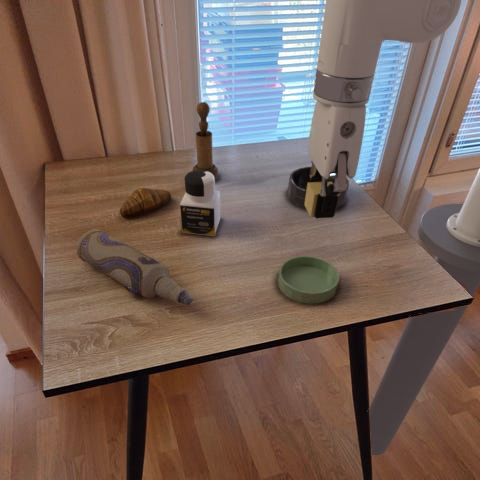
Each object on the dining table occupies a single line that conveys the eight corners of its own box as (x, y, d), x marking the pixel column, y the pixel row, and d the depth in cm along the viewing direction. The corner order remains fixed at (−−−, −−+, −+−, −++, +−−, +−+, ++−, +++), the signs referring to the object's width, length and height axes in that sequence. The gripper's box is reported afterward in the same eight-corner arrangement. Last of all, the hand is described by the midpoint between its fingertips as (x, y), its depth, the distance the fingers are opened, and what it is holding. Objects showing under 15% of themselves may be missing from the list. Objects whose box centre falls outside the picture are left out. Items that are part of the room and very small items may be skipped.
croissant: (161, 193, 101) (159, 173, 98) (178, 204, 98) (177, 184, 95) (113, 212, 95) (108, 192, 91) (129, 224, 91) (126, 204, 88)
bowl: (334, 182, 108) (338, 165, 105) (353, 210, 98) (357, 192, 95) (282, 184, 106) (283, 167, 103) (295, 213, 96) (297, 195, 93)
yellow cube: (327, 203, 70) (331, 181, 67) (334, 216, 67) (339, 193, 64) (304, 204, 70) (307, 182, 67) (310, 217, 67) (314, 194, 64)
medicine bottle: (182, 233, 89) (177, 181, 81) (189, 216, 94) (186, 165, 86) (214, 237, 89) (213, 184, 80) (220, 219, 94) (220, 168, 85)
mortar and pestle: (188, 180, 107) (183, 104, 94) (199, 169, 111) (196, 96, 98) (211, 185, 105) (209, 109, 92) (222, 174, 109) (222, 100, 97)
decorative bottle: (78, 267, 80) (69, 238, 76) (109, 250, 85) (102, 221, 80) (174, 328, 69) (171, 298, 65) (204, 305, 74) (203, 275, 69)
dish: (326, 264, 83) (328, 253, 81) (344, 301, 75) (347, 290, 74) (272, 268, 82) (273, 258, 80) (285, 306, 74) (286, 295, 72)
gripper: (394, 107, 50) (359, 236, 63) (348, 68, 62) (326, 184, 75) (334, 108, 49) (311, 239, 62) (299, 68, 61) (285, 186, 74)
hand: (319, 208), depth 68 cm, fingers closed on yellow cube, 4 cm apart
